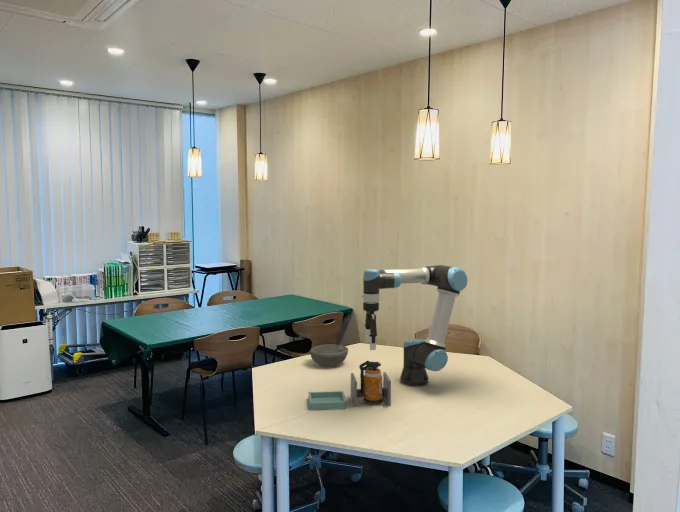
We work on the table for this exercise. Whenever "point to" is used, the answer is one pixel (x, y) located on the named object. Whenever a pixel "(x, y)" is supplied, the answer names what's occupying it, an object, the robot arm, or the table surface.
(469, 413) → the table surface
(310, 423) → the table surface
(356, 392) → the dock
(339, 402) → the tray
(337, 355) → the bowl
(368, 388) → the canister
